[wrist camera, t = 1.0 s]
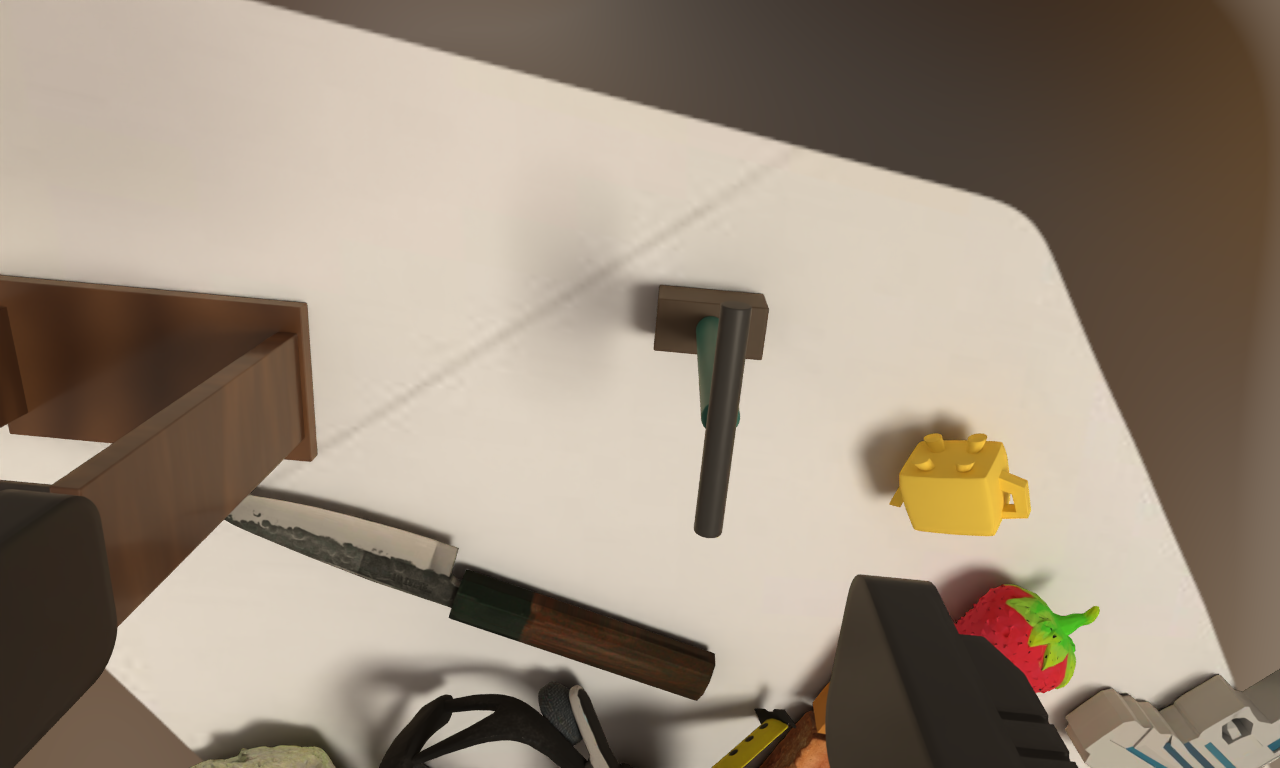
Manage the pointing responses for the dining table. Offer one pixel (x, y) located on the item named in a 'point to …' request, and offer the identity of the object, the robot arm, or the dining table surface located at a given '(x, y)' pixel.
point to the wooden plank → (804, 741)
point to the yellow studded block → (960, 486)
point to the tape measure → (757, 738)
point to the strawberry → (1027, 633)
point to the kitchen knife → (477, 594)
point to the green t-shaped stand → (713, 375)
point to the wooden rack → (156, 407)
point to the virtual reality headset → (510, 728)
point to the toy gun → (1181, 728)
